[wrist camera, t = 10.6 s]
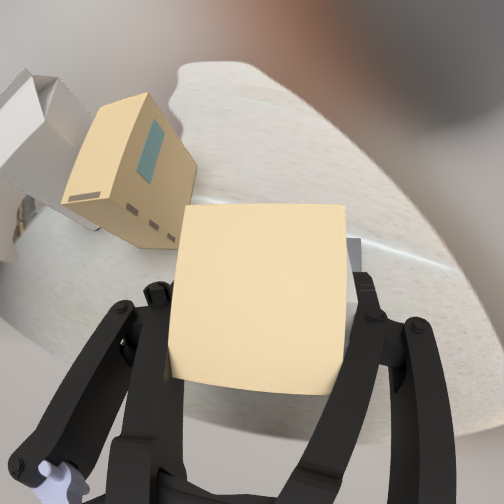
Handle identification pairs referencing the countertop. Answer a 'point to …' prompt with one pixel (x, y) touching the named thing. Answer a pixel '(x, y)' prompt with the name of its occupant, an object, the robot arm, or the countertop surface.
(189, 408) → the countertop surface
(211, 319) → the tan rectangular block
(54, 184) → the milk carton
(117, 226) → the cardboard shipping box
